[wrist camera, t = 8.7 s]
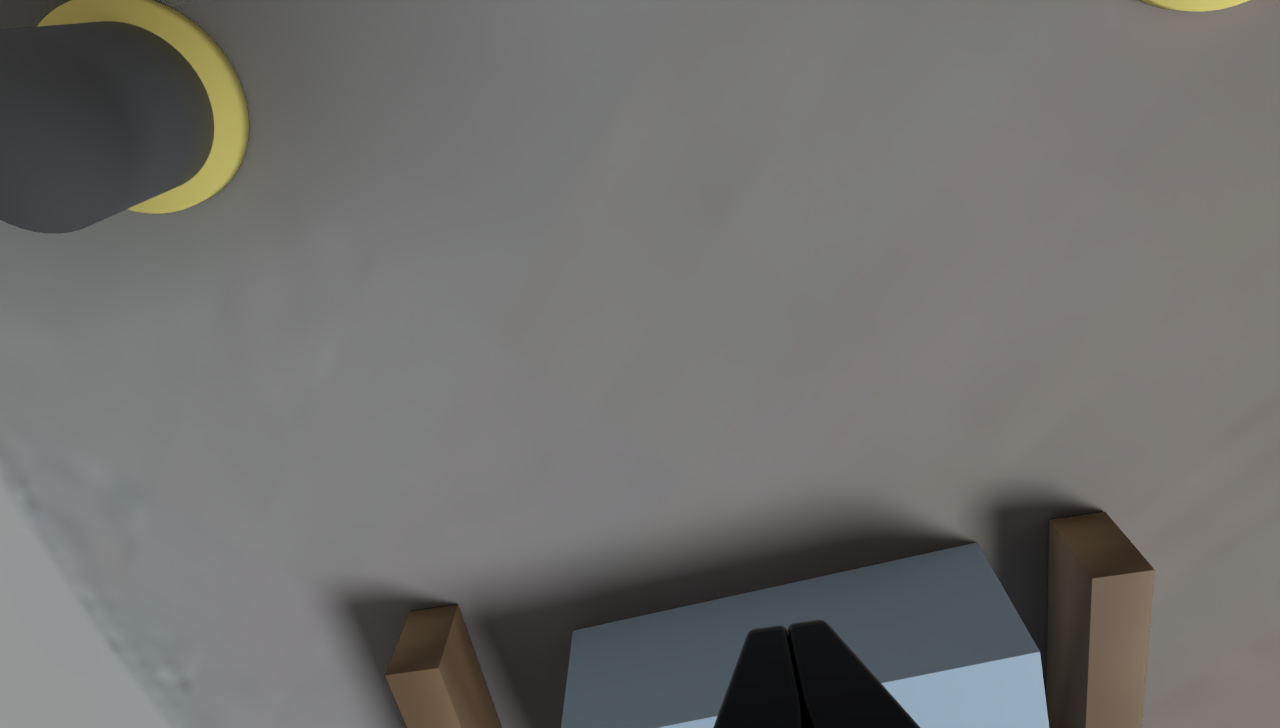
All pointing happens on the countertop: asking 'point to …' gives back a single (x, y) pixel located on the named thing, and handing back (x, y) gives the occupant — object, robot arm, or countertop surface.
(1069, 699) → the bay
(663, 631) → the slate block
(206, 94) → the bollards
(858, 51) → the countertop surface
